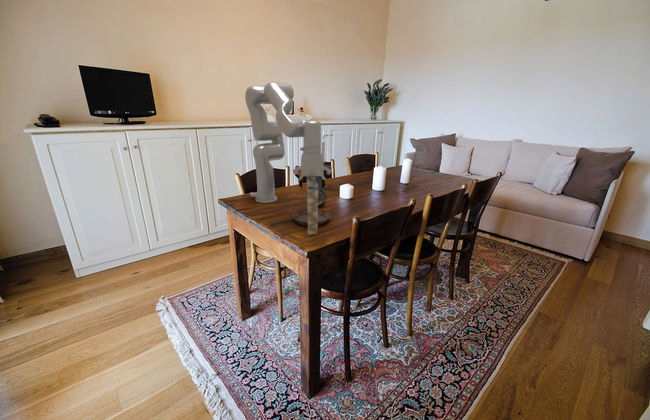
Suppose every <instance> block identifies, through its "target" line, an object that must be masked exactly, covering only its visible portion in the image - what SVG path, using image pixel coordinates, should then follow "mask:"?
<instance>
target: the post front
mask: <svg viewBox="0 0 650 420" xmlns="http://www.w3.org/2000/svg"><path fill="white" fill-rule="evenodd" d="M318 184H319V183H317V182H308V226H307V235H310V236H311V235H318V226H319V225H318V210H319V205H318Z"/></svg>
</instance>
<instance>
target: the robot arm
mask: <svg viewBox="0 0 650 420" xmlns="http://www.w3.org/2000/svg"><path fill="white" fill-rule="evenodd" d="M294 95H295V92H294V89H293V86H292V85H291V84H289V83H288V82H287V83H286V82H280V81H279V82H277V81H271V82H267V83H266V84H265V85H251V86H249V87H248V88H247V89H246V90H245V97H244V98H245V104H246V106H247V109H248V113H249V116H250V122H251V130H252V134H253V138H254V140H255V141H258V142H265V141H271V142H265V143H258V144H256V145H255V146H254V147H253V149H252V154H253V159H254V163H255V175H256V185H257V187H256V188H257V191H255V192H253V191H252V192H249V195H250V197H252V198H255V202H257V203H260V204H261V203H262V204H267V203H269V204H271V203H274V202H276V201H278V199H279V197H278V196H277V195H276V193H275V174H274V173H275V172H274V166H273V165H272V163H271V161H279V160H283V158H284V157H285V153H286V151H285V143H284V136H285V137H287V138H303V146H302V147H300V151H301V152H302V154H301V156H300V165H299V166H298V167H295V168H293V169H292V173H293V174H294V177H296V178H297V180H298V186H299V187H300V189H301V190H302V189H303V178H304V177H306V178H307V177H315V178H316V177H319V178H321V177H322V178H321V179H322V189H324V186H325V185H326V179H328V178H329V176H330V174H332V168H331V169H329V168H327V167H325V166H324V164H323V155H322V123H321V122H320V121H319V120H310V119H304V118H300V119H298V118H297V119H290V118H289V117H288V115H289V114H290V113H291V112H292V110H293V109H294V102H293V99H294ZM262 105H271V106H272V107H273V108H274V109H275V111H276V113H275V120H276V122H275V121H274V122H272V121H268V114H267V111H266V110H265V108H264V107H263V106H262ZM283 135H284V136H283ZM298 171H300V174H298ZM325 171H326V174H325ZM323 174H324V175H323Z"/></svg>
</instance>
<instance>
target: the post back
mask: <svg viewBox="0 0 650 420" xmlns="http://www.w3.org/2000/svg"><path fill="white" fill-rule="evenodd" d="M315 178H316V177H306V209H308V182H315Z"/></svg>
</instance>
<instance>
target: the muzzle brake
mask: <svg viewBox="0 0 650 420" xmlns="http://www.w3.org/2000/svg"><path fill="white" fill-rule="evenodd" d="M315 182H317V184H318V206H320V205H321V204H323V203H324V201H326V192H325V191H326V190H325V186H324V189H322V178H321V177H315Z"/></svg>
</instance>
